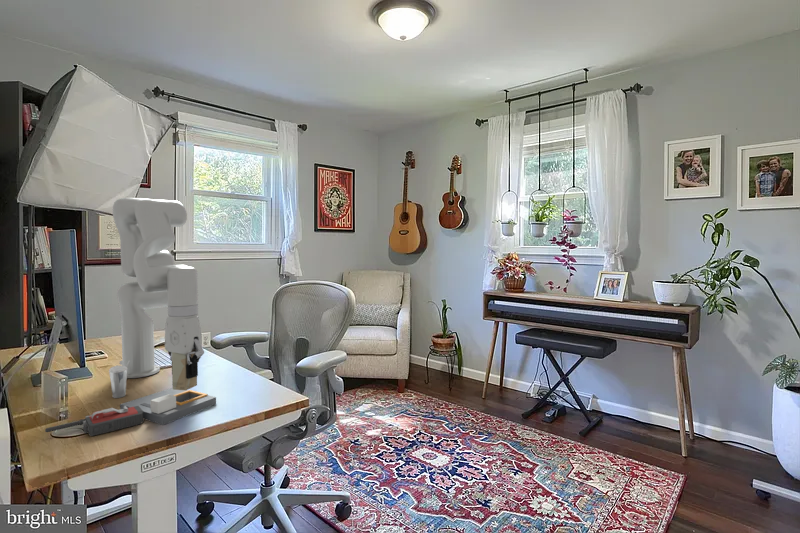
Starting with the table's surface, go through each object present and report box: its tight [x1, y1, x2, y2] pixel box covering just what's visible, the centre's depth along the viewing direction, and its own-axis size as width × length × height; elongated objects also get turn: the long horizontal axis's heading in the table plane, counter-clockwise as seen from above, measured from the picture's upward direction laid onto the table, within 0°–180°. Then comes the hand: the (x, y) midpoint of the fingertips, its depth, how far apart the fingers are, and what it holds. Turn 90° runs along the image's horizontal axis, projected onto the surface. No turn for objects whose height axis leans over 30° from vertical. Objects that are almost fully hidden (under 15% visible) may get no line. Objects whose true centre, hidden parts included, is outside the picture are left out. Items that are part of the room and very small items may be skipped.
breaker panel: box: [119, 387, 217, 426], centre depth 122 cm, size 18×16×2 cm
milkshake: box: [108, 361, 129, 399], centre depth 131 cm, size 4×5×10 cm
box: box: [171, 350, 198, 390], centre depth 124 cm, size 5×4×11 cm
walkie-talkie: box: [44, 406, 144, 437], centre depth 108 cm, size 9×4×20 cm
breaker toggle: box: [151, 394, 176, 414], centre depth 115 cm, size 3×5×3 cm, turn 152°
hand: (184, 375), depth 124 cm, fingers closed on box, 5 cm apart
